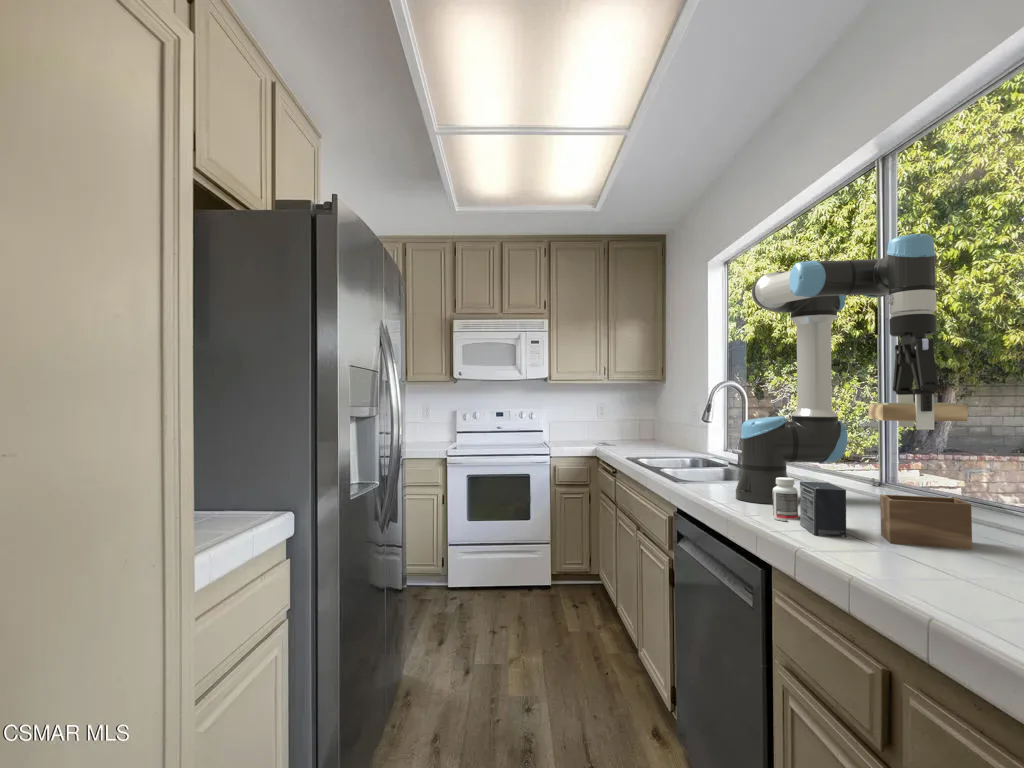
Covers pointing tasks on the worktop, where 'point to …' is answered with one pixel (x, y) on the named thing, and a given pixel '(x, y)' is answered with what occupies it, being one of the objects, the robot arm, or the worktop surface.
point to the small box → (823, 509)
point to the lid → (908, 412)
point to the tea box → (926, 521)
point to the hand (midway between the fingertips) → (914, 428)
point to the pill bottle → (785, 499)
